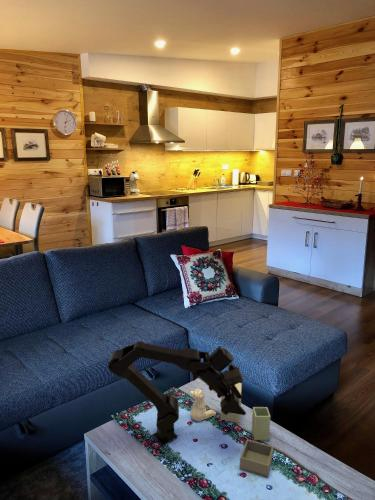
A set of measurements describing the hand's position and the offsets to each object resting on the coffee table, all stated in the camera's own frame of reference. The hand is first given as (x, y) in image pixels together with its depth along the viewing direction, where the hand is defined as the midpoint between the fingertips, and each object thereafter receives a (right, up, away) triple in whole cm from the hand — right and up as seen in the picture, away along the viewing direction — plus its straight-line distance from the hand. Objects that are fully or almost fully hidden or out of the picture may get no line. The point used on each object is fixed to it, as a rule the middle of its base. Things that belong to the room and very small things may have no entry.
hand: (243, 405), depth 141 cm
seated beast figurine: (-15, -10, +14) cm, 22 cm away
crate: (+3, -15, -9) cm, 18 cm away
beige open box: (+7, -12, +3) cm, 14 cm away
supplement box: (-3, -10, +14) cm, 17 cm away
